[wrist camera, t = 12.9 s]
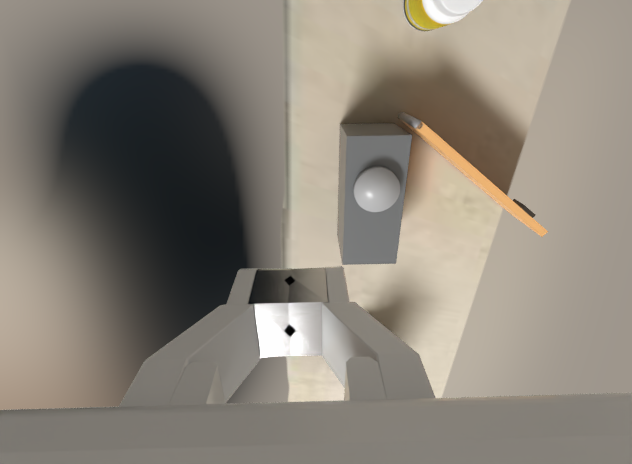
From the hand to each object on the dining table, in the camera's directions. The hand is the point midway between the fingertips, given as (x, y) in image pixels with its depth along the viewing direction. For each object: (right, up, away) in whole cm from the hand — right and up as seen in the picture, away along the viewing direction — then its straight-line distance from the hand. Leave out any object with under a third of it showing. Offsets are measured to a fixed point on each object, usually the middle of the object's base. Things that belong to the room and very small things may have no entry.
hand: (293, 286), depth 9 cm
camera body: (+6, +7, +29) cm, 31 cm away
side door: (+18, +10, +28) cm, 34 cm away
